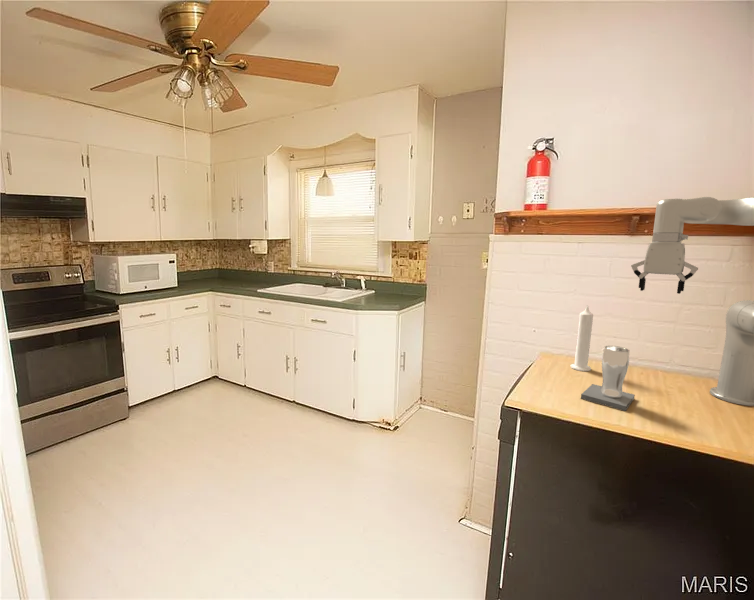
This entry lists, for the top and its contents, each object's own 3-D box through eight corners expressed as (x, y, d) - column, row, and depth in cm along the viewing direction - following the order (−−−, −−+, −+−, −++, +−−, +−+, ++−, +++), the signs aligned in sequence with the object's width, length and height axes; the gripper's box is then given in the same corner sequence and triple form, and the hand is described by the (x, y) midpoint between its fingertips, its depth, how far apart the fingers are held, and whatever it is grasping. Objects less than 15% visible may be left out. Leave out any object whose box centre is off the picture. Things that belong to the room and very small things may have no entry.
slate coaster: (634, 399, 118) (634, 394, 118) (625, 411, 110) (626, 406, 109) (591, 388, 126) (592, 383, 126) (580, 398, 118) (581, 394, 118)
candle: (593, 372, 142) (601, 307, 138) (573, 370, 143) (580, 306, 139) (587, 366, 149) (594, 304, 145) (568, 364, 150) (574, 303, 146)
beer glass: (614, 400, 113) (620, 353, 111) (593, 391, 119) (598, 346, 117) (629, 397, 116) (635, 350, 113) (607, 388, 122) (613, 344, 120)
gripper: (703, 239, 116) (695, 293, 119) (636, 238, 128) (631, 288, 131) (701, 238, 111) (693, 295, 114) (632, 238, 123) (626, 290, 125)
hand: (660, 291), depth 122 cm, fingers open, 9 cm apart
